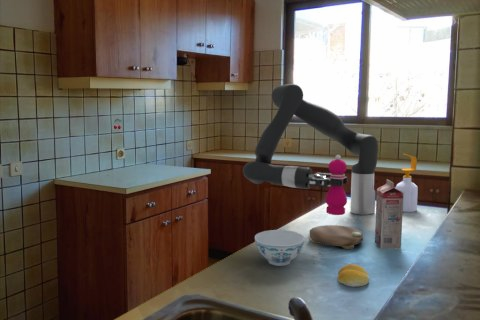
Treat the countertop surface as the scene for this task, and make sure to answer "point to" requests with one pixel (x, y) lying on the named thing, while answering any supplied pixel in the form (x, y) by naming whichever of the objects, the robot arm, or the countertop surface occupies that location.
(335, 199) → the pepper mill
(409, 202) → the soap bottle
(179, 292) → the countertop surface
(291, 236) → the chinaware
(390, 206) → the juice carton
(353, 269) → the bread roll
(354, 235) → the round wooden disc
